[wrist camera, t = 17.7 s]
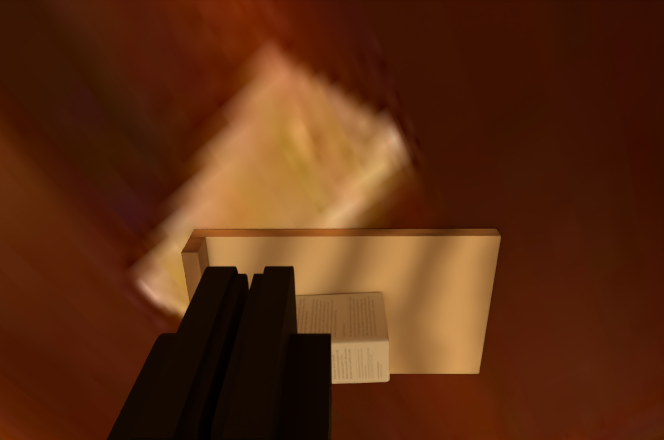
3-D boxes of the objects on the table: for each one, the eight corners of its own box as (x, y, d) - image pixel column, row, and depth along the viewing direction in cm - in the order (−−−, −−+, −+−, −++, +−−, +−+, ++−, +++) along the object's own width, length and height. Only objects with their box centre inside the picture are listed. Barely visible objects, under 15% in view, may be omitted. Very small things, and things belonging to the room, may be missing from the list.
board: (496, 228, 39) (510, 251, 36) (475, 364, 46) (485, 393, 42) (193, 229, 40) (181, 252, 37) (214, 363, 46) (205, 393, 43)
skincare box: (384, 332, 43) (245, 335, 43) (384, 291, 41) (238, 295, 41) (389, 385, 37) (231, 389, 38) (389, 341, 35) (222, 345, 36)
